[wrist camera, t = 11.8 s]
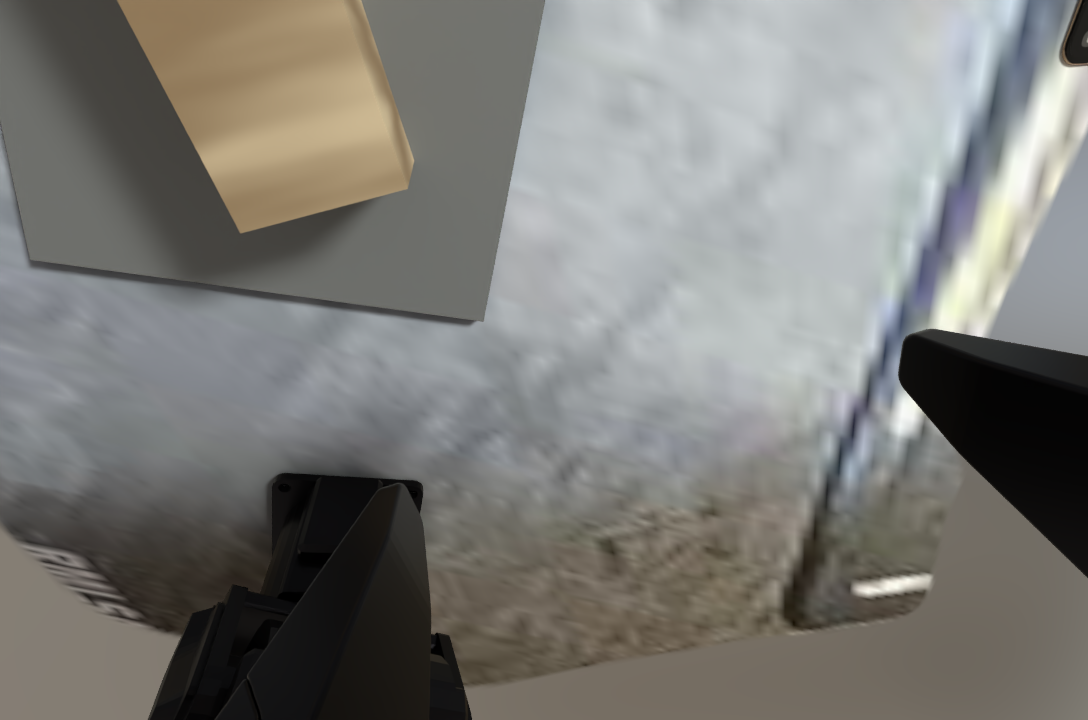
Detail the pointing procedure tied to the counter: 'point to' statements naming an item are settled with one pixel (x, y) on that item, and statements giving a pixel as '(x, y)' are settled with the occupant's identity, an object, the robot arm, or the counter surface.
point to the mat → (192, 198)
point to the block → (278, 101)
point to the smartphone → (1077, 37)
